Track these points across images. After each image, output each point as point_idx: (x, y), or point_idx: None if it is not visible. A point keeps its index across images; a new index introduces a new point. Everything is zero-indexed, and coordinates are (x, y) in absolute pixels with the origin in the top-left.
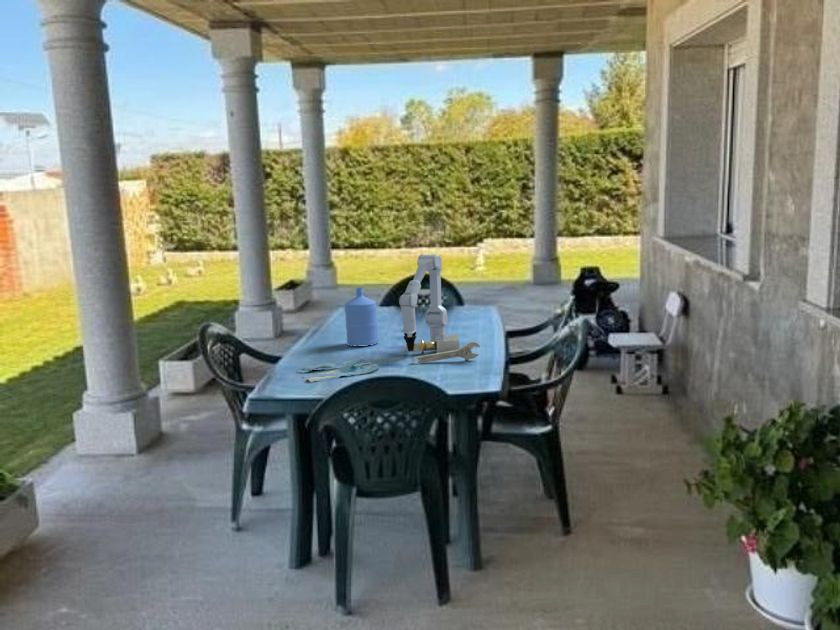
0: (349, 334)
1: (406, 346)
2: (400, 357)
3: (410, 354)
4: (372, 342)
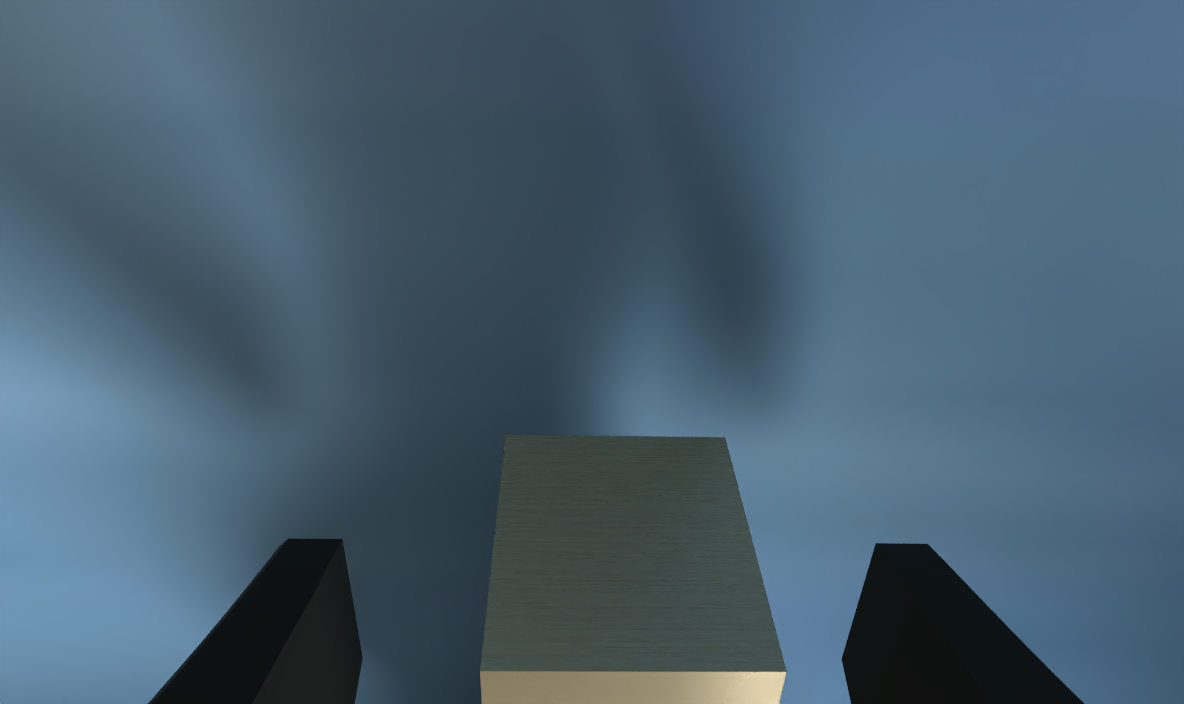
0: None
1: (494, 612)
2: (236, 127)
3: None
4: None
